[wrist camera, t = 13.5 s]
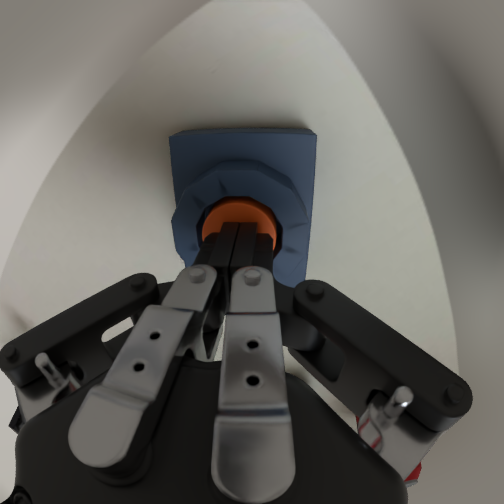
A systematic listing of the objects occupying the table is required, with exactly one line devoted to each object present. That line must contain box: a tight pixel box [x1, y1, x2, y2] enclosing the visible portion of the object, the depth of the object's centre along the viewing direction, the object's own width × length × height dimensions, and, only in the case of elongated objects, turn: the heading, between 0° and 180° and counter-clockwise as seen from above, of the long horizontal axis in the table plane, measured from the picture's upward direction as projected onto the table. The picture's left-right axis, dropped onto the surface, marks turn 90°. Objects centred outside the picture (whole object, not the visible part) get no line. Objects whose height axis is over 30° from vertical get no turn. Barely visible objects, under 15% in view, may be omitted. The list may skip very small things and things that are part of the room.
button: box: [202, 196, 276, 250], centre depth 13 cm, size 3×3×2 cm
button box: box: [169, 128, 317, 288], centre depth 15 cm, size 9×7×4 cm
